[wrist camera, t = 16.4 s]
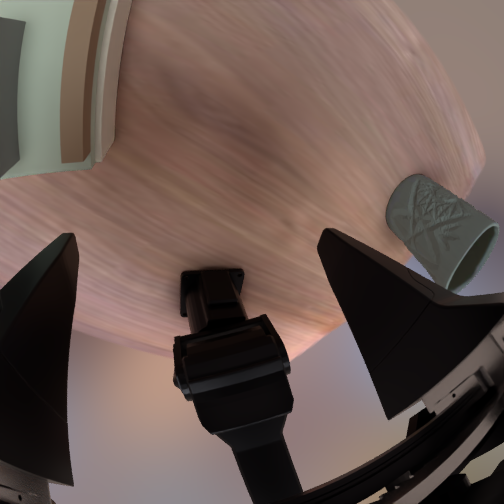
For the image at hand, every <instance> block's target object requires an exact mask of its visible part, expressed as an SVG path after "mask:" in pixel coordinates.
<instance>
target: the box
mask: <svg viewBox="0 0 504 504" xmlns="http://www.w3.org/2000/svg"><path fill="white" fill-rule="evenodd" d="M131 4H132V0H111V2H110V6H109V10H108V15H107V20H106V24H105V30H104V35H103V41H102V47H101V54H100V61H99V69H98V79H97V90H96V106H95V163H96V162H102V161H103V159H104V157H105V155H106V154H107V152H108V150H109V148H110V147H111V145H112V143H113V142H114V139H115V114H116V99H117V88H118V78H119V70H120V62H121V55H122V49H123V43H124V37H125V31H126V26H127V21H128V17H129V12H130V8H131Z"/></svg>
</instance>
